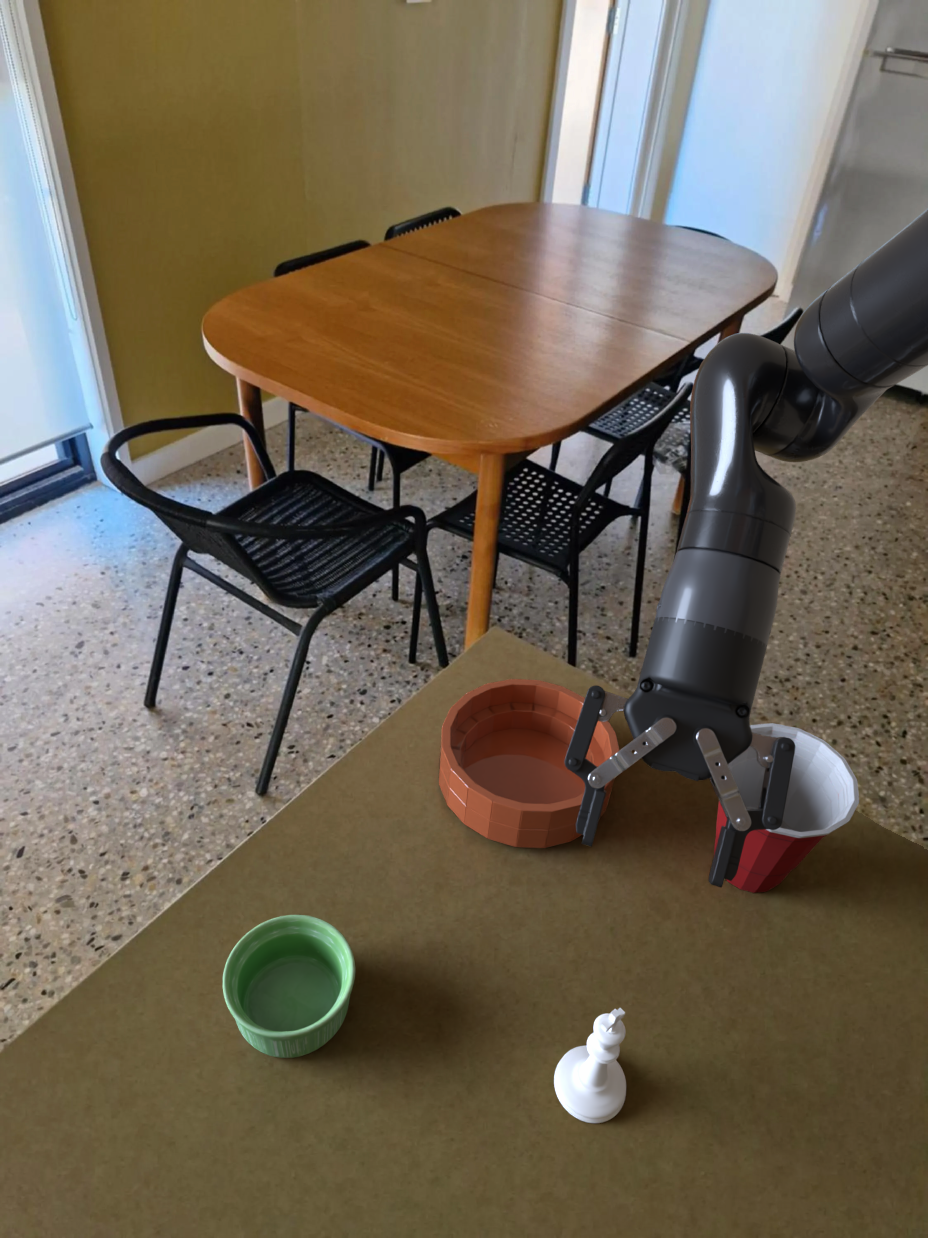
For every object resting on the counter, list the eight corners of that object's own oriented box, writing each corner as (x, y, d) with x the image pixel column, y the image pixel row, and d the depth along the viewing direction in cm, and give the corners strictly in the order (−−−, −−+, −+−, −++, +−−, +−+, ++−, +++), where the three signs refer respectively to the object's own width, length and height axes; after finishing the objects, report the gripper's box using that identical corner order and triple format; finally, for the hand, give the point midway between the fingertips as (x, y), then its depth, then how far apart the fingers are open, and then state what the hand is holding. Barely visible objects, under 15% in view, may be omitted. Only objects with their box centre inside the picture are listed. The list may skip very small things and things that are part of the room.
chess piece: (539, 1079, 61) (558, 1006, 55) (588, 1034, 63) (612, 960, 57) (591, 1140, 58) (618, 1071, 52) (640, 1091, 61) (672, 1020, 54)
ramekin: (381, 991, 65) (381, 959, 62) (296, 1095, 59) (293, 1065, 56) (289, 925, 69) (286, 892, 66) (201, 1017, 63) (193, 985, 60)
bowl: (637, 770, 83) (649, 730, 80) (553, 884, 73) (562, 843, 70) (499, 696, 90) (504, 656, 86) (403, 791, 79) (405, 750, 76)
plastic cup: (656, 857, 76) (688, 763, 68) (729, 795, 82) (766, 702, 74) (764, 948, 70) (812, 856, 62) (835, 874, 76) (887, 781, 68)
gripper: (606, 593, 58) (541, 838, 56) (832, 650, 55) (769, 909, 53) (608, 610, 65) (550, 827, 64) (807, 660, 62) (751, 889, 61)
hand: (650, 864), depth 59 cm, fingers open, 8 cm apart
